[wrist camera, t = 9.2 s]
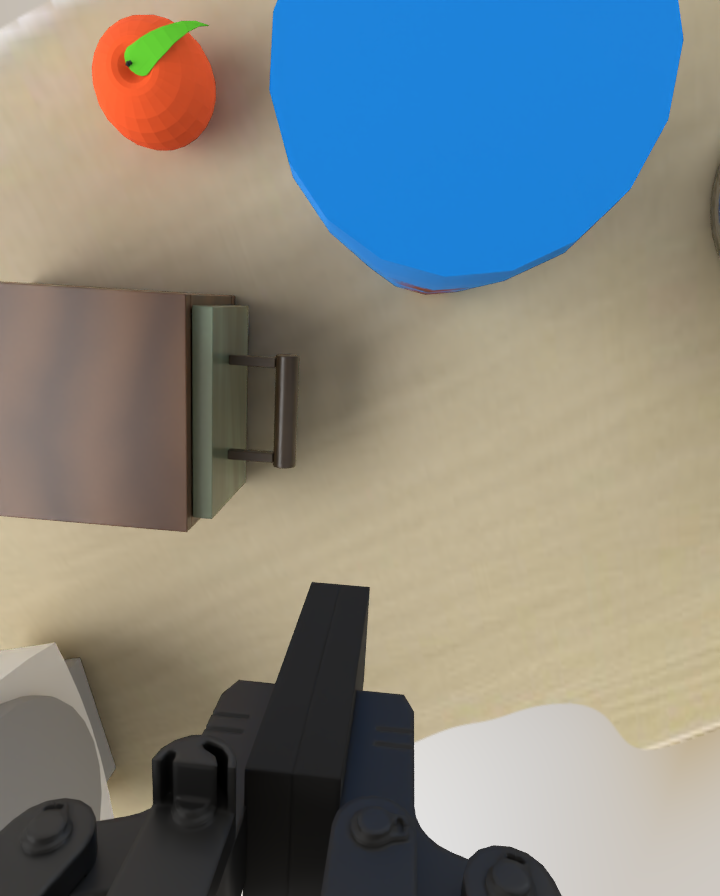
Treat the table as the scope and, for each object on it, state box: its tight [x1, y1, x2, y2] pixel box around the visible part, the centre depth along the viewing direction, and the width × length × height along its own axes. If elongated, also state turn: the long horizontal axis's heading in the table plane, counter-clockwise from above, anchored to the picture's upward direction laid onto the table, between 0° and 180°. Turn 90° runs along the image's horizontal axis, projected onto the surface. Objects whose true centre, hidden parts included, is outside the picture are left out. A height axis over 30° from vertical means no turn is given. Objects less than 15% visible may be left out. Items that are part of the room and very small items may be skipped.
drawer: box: [191, 305, 299, 519], centre depth 39 cm, size 18×12×8 cm
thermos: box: [269, 0, 683, 295], centre depth 28 cm, size 11×11×25 cm
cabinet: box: [0, 282, 235, 532], centre depth 40 cm, size 15×14×10 cm
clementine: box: [92, 15, 216, 150], centre depth 36 cm, size 8×7×7 cm
